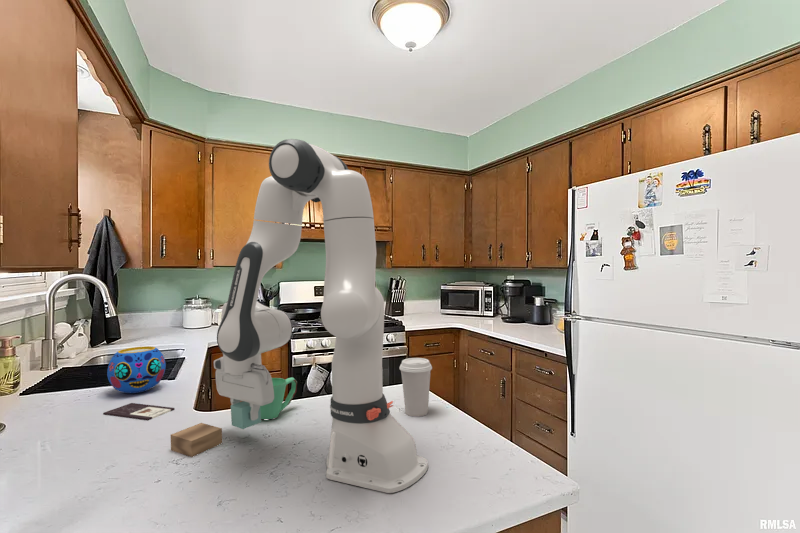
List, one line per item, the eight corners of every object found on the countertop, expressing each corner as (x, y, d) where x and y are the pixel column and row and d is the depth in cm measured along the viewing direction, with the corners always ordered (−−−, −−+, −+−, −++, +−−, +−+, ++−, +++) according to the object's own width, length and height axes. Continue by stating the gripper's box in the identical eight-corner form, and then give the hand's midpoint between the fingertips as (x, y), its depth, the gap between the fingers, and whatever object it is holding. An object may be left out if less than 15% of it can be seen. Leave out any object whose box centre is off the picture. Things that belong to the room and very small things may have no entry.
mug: (265, 426, 109) (264, 389, 109) (244, 419, 115) (243, 384, 115) (307, 410, 121) (306, 376, 121) (286, 404, 126) (285, 372, 126)
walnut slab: (222, 444, 99) (221, 428, 99) (191, 458, 92) (191, 441, 92) (201, 438, 103) (201, 422, 103) (170, 451, 96) (170, 434, 96)
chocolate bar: (131, 402, 130) (174, 407, 124) (131, 405, 130) (174, 410, 124) (103, 412, 121) (147, 418, 115) (103, 415, 121) (147, 422, 115)
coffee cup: (396, 417, 113) (395, 364, 113) (404, 405, 122) (403, 356, 122) (430, 419, 111) (429, 365, 111) (435, 407, 120) (434, 357, 120)
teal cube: (261, 422, 101) (259, 402, 101) (243, 429, 97) (241, 408, 97) (249, 418, 104) (248, 399, 104) (231, 425, 100) (230, 405, 100)
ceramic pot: (108, 403, 131) (106, 357, 131) (107, 390, 146) (106, 349, 146) (169, 392, 142) (168, 349, 142) (163, 381, 156) (162, 342, 156)
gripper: (278, 362, 97) (282, 420, 97) (232, 356, 109) (235, 406, 109) (255, 369, 92) (259, 429, 92) (209, 361, 104) (213, 414, 104)
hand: (246, 417), depth 101 cm, fingers closed on teal cube, 5 cm apart
